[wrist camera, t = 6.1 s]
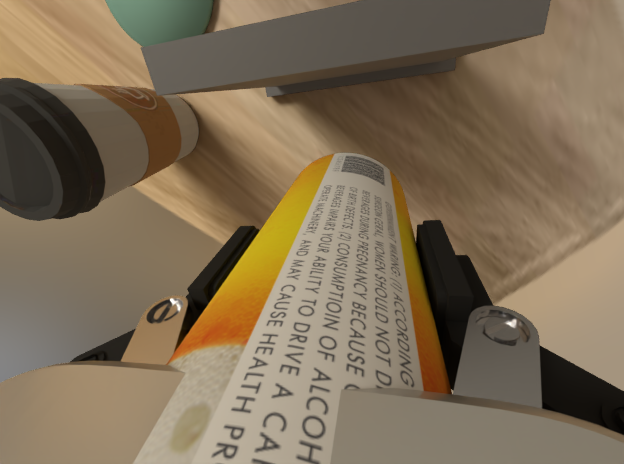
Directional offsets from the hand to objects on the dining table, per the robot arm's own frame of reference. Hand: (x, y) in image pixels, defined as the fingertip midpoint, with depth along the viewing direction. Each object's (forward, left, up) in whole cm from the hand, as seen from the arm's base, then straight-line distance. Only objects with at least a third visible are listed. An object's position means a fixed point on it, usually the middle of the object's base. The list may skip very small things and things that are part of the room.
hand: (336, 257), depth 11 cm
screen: (-7, 0, -17) cm, 19 cm away
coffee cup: (-5, -19, -18) cm, 26 cm away
